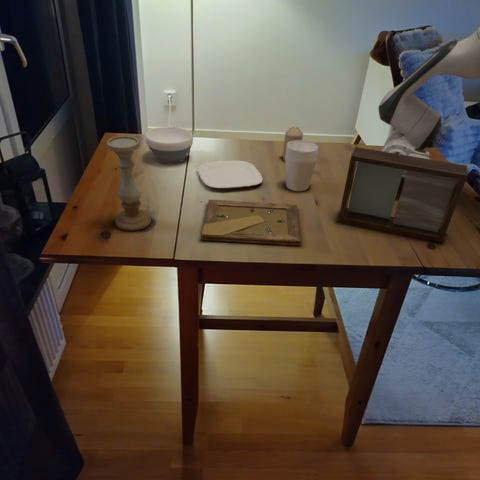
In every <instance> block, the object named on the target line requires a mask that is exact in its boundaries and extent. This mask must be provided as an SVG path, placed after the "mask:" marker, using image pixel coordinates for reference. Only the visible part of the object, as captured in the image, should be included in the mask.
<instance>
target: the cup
mask: <svg viewBox="0 0 480 480" xmlns="http://www.w3.org/2000/svg"><path fill="white" fill-rule="evenodd" d="M318 152H319V145H318V144H316V143H315V142H312V141H311V140H310V141H309V140H306V139H305V140H304V139H302V140H294V141H290V142H288V143H287V148H286V153H285V161H284V162H285V163H284V164H285V186H286V188H287V189H289V190H290V191H294V192H304V191H306V190H308V189H309V187H310V185H311V180H312V177H313V174H314V169H315V167H316V164H317V160H318V154H319V153H318Z"/></svg>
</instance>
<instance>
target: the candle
mask: <svg viewBox="0 0 480 480" xmlns="http://www.w3.org/2000/svg"><path fill="white" fill-rule="evenodd" d="M303 136H304V133H303V131H302V130H301V128H299V127H295V126H291V127H290V128H288V129H287V130H286V131H285V134H284V143H283V152H282V160H283V161H284V162H285V153H286V148H287V143H288V142H290V141H294V140H303Z"/></svg>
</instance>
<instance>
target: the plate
mask: <svg viewBox="0 0 480 480" xmlns="http://www.w3.org/2000/svg"><path fill="white" fill-rule="evenodd" d="M196 169H197V173H198V176H199V177H200V180H201V181H202V183H203V184H204V185H205V186H207V187H209V188H211V189H216V190H217V189H218V190H226V189H228V190H229V189H239V188H240V189H241V188H251V187H254V186H255V187H256V186H258V185H261V184H262V182H263V180H264V178H263V176H262V174H261V173H260V171H259V170H258V168H257V167H256V166H255V165H254V164H253V163H251V162H249V161H246V160H221V161H219V160H218V161H211V162H205V163H202V164H199V166H197V168H196Z"/></svg>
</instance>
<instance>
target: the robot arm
mask: <svg viewBox="0 0 480 480" xmlns="http://www.w3.org/2000/svg"><path fill="white" fill-rule="evenodd" d="M438 75H449V76H455V77H459V78H461V79H465V80H470V81H480V26H478V28H477V29H476V30H475V31H474V32H473V33H472V34H470V35H469V36H468V37H465V38H464V39H461V40H458V41H456V40H455V41H454V40H451V41H449V42H447V43H445V44H444V45H442V46H441V47H440V48H439V49H438V50H437V51H435V52H434V53H433V54H432V55H430V56H429V58H427V59H426V60H425V61H424V62H422V63H421V64H420V65H419V66H418V67H417V68H416V69H415V70H414V71H413V72H411V73H410V74H409V75H408V76H407V77H406V78H405V79H404V80H402V81H401V82H400V83H398V84H397V85H396V86H394V87H393V88H391V90H389V91H388V92H387V93H385V95H384V96H383V98H382V99H381V100H380V102H379V105H378V115H379V119H380V121H382V122H383V123H385V124H387V125H388V126H391V127H392V128H394V129H395V130H393V131H391V133H390V134H389V135H388V137H387V138H386V140H385V142H384V144H383V148H382V150H381V151H382V152H388V153H394V154H400V155H406V156H413V157H419V158H425V159H431V158H430V155H431V154H430V152H429V151H428V150H425V149H427V148H428V147H429V145H431V144H432V142H433V141H434V140H435V139H436V137H437V136H438V134H439V132H440V130H441V125H442V117H441V116H442V115H440V113H438V112H437V111H436V110H434V109H433V108H432V107H431V106H430V105H427V104H426V103H425V102H424V101H423V100H422V99H420V98H419V97H417V96H416V95H415V94H414V93H415V92H416V91H417V90H419V89H420V87H423V85H424V84H426V83H427V82H428V81H429V80H430V79H432V78H433V77H435V76H438ZM357 165H358V162H357ZM357 165H356V169H357ZM407 171H408V170H404V171H403V174H402V178H401V179H403V178H404V179H405V178H406V175H407Z"/></svg>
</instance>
